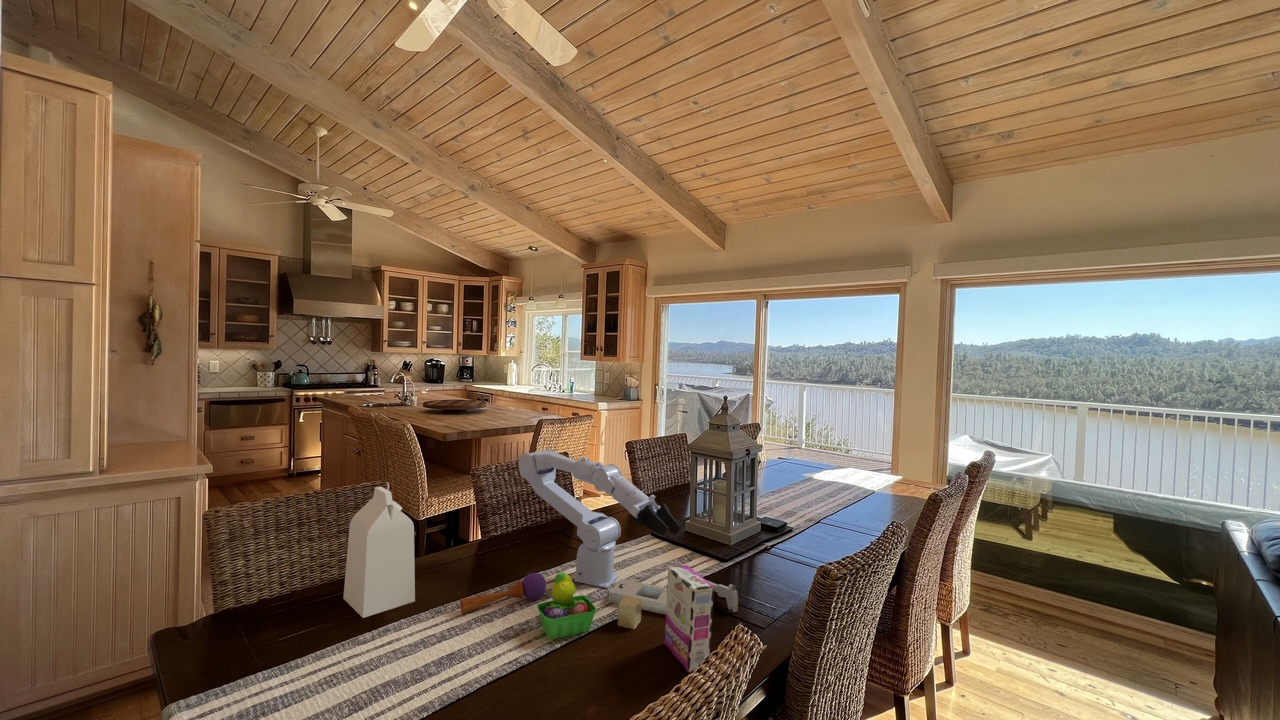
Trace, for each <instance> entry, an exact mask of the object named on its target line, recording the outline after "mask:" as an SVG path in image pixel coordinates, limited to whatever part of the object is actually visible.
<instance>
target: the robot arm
mask: <svg viewBox="0 0 1280 720" xmlns="http://www.w3.org/2000/svg"><path fill="white" fill-rule="evenodd" d="M557 470H561V471H564V472H568V473H572V476H573V478H574V479H575V480H579V481H581V482H584V483H587V484H589V485H592V486H594V490H596V491H598V492H604V493H605V494H607V495H609V496H610V497H612V498H613V499H614V500H615V502H617V503H619V504H620V505H621V506H622V507H623V508H624V509H626V510H627V511H628V513H629V514H630V515H632V516H633V517H634V518H635V520H634V524H635V525H636V526H640V527H643V528H646V529H649V530H651V531H653V532H654V533H656V534H658V535H661V536H665V535H666V534H667V532H670V533H672V534H673V535H678V533H679V532H680V530H681V526H680V524H679V523H678V521H677V520H676V519H675V518H674V516H673V515H672V514H671V511H670V509H669V506H668V505H667V504H665V503H662V504H661V505H658V504H657V502H656V501H655V499H656V498H657V497H656V495H654V494H651V495H650V496H648V495H647V494H645V493H644V492H643V491H641V490H640V489H639V488H638V487H637V486H636V485H634V484H633V483H632V482H631V481H629V480H628V479H626V477H624V476H623V475H622V471H621V470H620V468H619V467H618V466H617V465H616V464H614V463H610V464H607V465H606V466H605V465H604V463H603V462H596V461H592V460H590V458H589V457H585V456H584V457H582V458H579V459H577V460H575V459H572V458H570V457H567V456H565V455H563V454H560V453H558V452H557V451H556V450H551V449H544V450H539V451H533V452H527V453H523V454H521V456H519V459H518V471H519V475H520V476H522V478H524V479H525V480H526V481H527V482H528V483H529V485H530V486H531V487H532V490H533V491H534V492H535V494H536V495H537V496H539V497H540V498H541V499H542V500H544V502H546V503H548V504H549V505H550V506H551V508H553V509H555V510H556V511H557V512H558V513H560V514H561V516H562V517H564V518H566V519H567V520H568V521H570V523H572V524H573V525H574V526H576V527H577V529H576V535H577V537H578V538H580V540H581V541H582V542H583V543H581V544H580V545H579V547H578V549H577V553H576V562H575V563H576V564H575V578H574V579H573V580H574V582H575V583H576V582H577V583H579V584H585V585H591V586H594V587H599V588H603V589H608V588H609V587H610V586H611V585H612V584H613V583H614V582H615V581H616V580H617V579H618V578H619V574H617V573H614V566H615V565H614V564H615V562H614V561H615V546H616V545H617V543H616V542H617V540H618V539H619V538H620V536H621V533H622V530H621V529H622V528H621V525H620V523H619V521H618V520H617V519H616V518H614V517H612V516H607V515H605V514H604V513H603V512H595V511H592V510H591V509H589V507H587V506H586V505H584V504H583V503H582V502H580V501H579V500H578V499H577V498H576V497H574V496H573V495H571V494H570V493H569V492H568V491H566V490H565V489H564V488H562V487H561V486H560V485H558V484H557V483H556V482H555V479H556V477H557V476H556V472H557Z"/></svg>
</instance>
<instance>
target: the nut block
mask: <svg viewBox="0 0 1280 720" xmlns="http://www.w3.org/2000/svg"><path fill="white" fill-rule="evenodd" d="M641 606H642V599H638V598H633V597H629V596H625V597H624V598H623V599H622V600H621V602H620V603H619V604H618V609H617V610H618V615H617V626H618V627H623V628H628V629H631V630H635V629H636V628H637V627H638V625H639V624H640V623H641V621H642V609H641Z"/></svg>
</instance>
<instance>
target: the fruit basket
mask: <svg viewBox="0 0 1280 720" xmlns="http://www.w3.org/2000/svg"><path fill="white" fill-rule="evenodd" d="M576 593H577V588H576V586H575V583H574V582H573V581H572V578H571V577H570V575H569V574H567V573H565V572H564V571H561V572H558V573H557V574H555V577H554V583H553V585H552V587H551V593H550V595H551V598H552V600H550V601H545V602H541V603H538V604H537V610H538V612H539V616H540V621H541V626H542V629H543V630H544V632H545V634H546V635H547V637H548V639H549V640H554V639H555V640H556V639H558V638H564V637H567V636H573V635H577V634H581V633H586V632H589V631H590V629H591V626H592V622H593V619H594V616H595V615H596V612H597V610H598V609H597V607H596V606H595V605H594V604H593V602H592V601H591V600H590V599H589V598H588V596H587V595H583V594H581V595H576V596H574V595H575V594H576Z"/></svg>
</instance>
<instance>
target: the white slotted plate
mask: <svg viewBox="0 0 1280 720" xmlns="http://www.w3.org/2000/svg"><path fill="white" fill-rule="evenodd" d="M608 592H609V593H608V602H609V603H611V602H613V603H612V604H617V605H619V603H620V602H621V600H622V599H623V598H624V597H625V596H629V597H633V598H638V599H642V606H641V611H648V612H653V613H656V614H661V615H665V616H666V602H667V587H664V586H658V585H655V584H654V585H653V584H649V583H643V582H641V581H640V582H639V581H635V580H634V581H633V580H629V579H625V578H621V579H619V581H618V582H617V583H615V584H614V586H613V587H612V588H611V589H610V591H608Z"/></svg>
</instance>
